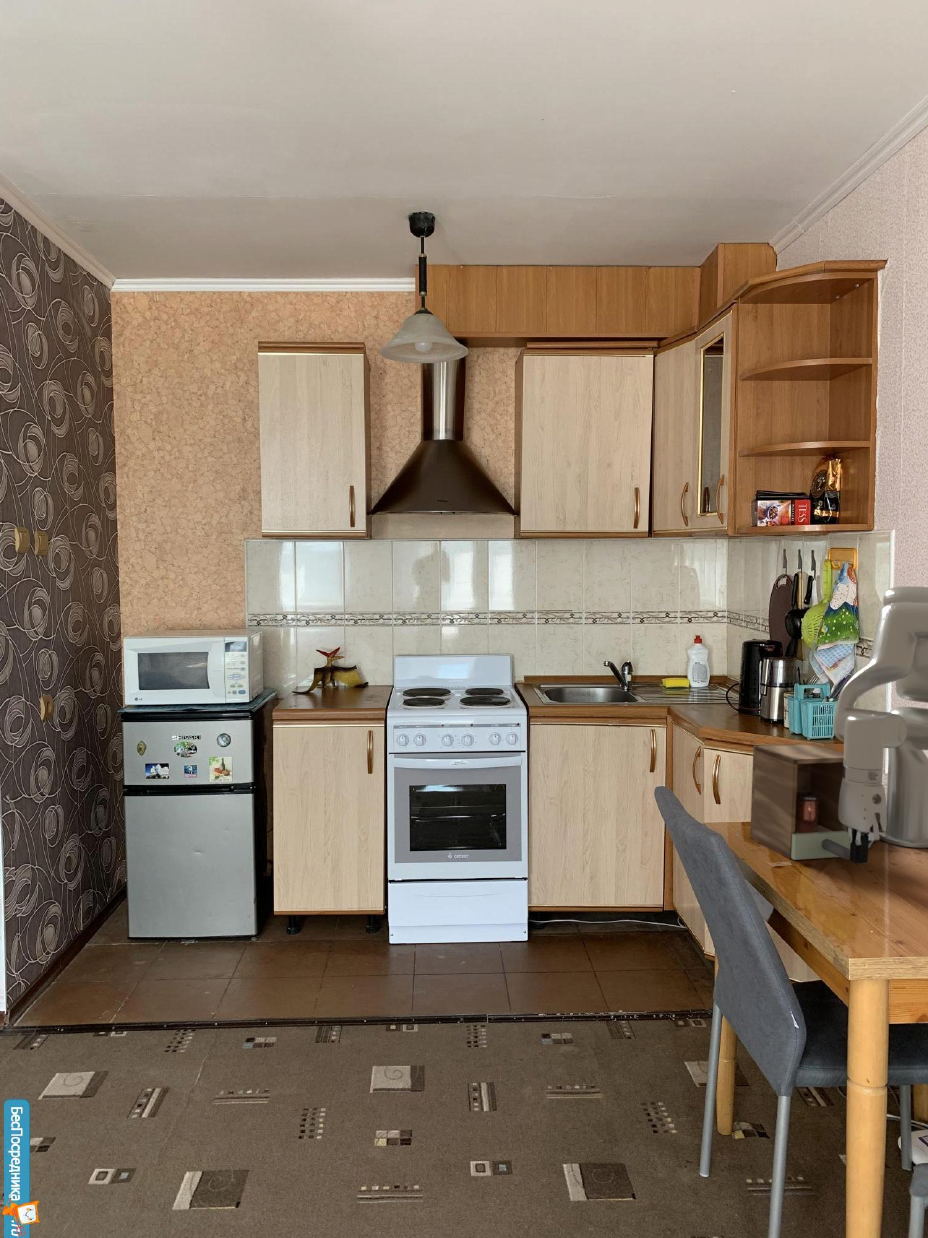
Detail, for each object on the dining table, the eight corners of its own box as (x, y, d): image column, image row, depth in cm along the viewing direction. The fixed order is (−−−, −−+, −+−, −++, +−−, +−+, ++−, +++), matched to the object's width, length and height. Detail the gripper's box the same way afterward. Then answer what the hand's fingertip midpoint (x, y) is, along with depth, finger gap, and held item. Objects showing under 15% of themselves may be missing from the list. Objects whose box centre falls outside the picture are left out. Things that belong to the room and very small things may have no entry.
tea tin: (821, 841, 208) (824, 797, 208) (799, 842, 207) (802, 797, 207) (809, 834, 214) (811, 791, 213) (787, 835, 213) (789, 791, 212)
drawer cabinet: (809, 834, 222) (813, 743, 220) (853, 854, 206) (857, 757, 205) (750, 838, 218) (753, 745, 217) (789, 858, 202) (793, 759, 201)
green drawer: (812, 835, 220) (813, 812, 220) (877, 865, 198) (878, 840, 198) (753, 838, 217) (754, 816, 216) (814, 870, 194) (815, 845, 194)
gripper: (902, 782, 185) (898, 873, 186) (855, 767, 199) (851, 850, 200) (870, 783, 183) (866, 875, 184) (824, 768, 197) (821, 852, 198)
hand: (858, 862), depth 192 cm, fingers closed
